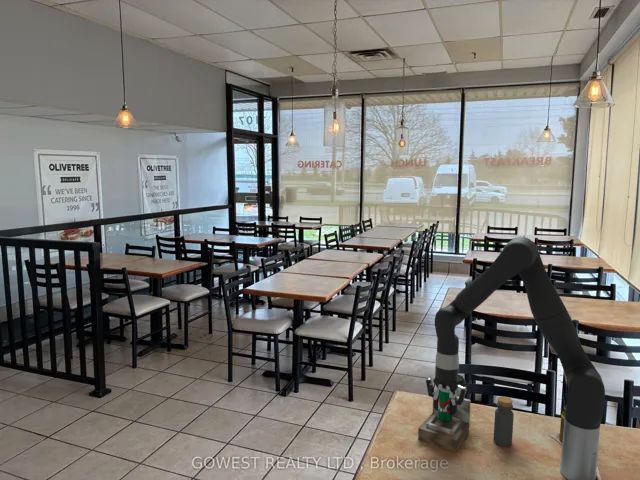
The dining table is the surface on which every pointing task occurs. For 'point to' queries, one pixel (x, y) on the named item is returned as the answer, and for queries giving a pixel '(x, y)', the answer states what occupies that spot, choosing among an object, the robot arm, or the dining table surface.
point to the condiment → (560, 436)
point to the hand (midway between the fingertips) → (445, 411)
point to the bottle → (503, 421)
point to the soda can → (444, 406)
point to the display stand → (447, 428)
